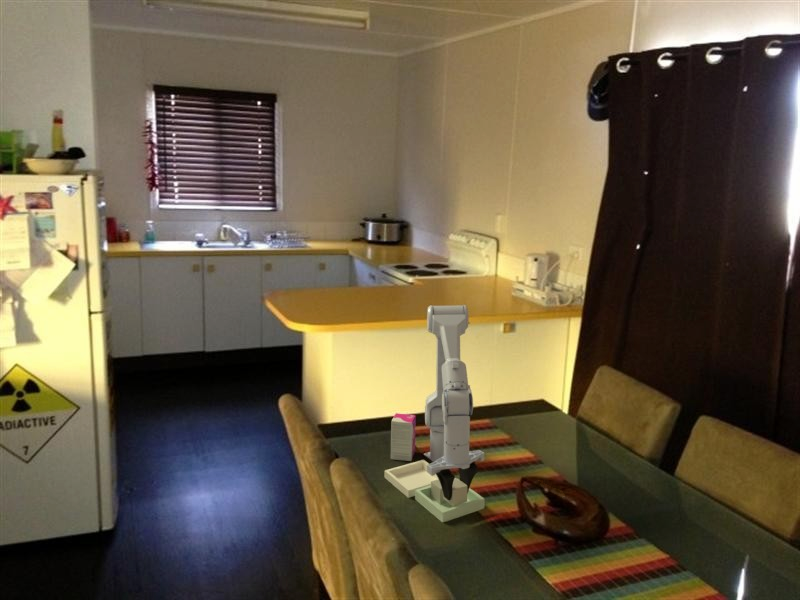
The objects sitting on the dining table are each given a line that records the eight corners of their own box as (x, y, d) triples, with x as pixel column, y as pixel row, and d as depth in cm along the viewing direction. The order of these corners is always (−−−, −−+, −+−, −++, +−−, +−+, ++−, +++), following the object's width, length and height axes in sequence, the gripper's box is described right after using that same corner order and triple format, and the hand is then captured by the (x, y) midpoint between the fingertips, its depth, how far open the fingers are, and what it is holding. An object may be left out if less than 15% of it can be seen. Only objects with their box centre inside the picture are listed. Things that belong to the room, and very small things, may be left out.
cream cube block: (444, 492, 165) (444, 477, 164) (454, 499, 162) (454, 484, 161) (430, 497, 163) (430, 481, 162) (440, 504, 160) (440, 488, 159)
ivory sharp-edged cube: (457, 493, 160) (457, 478, 159) (467, 501, 157) (467, 485, 156) (442, 498, 158) (442, 482, 157) (452, 506, 155) (452, 490, 154)
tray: (423, 468, 178) (423, 459, 178) (448, 487, 169) (448, 478, 168) (384, 479, 173) (384, 470, 172) (408, 500, 163) (408, 490, 162)
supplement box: (411, 463, 181) (411, 422, 179) (390, 461, 182) (389, 421, 180) (415, 453, 187) (415, 414, 184) (394, 451, 188) (394, 412, 185)
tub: (455, 488, 168) (455, 477, 167) (484, 510, 158) (484, 498, 157) (415, 501, 162) (415, 490, 162) (442, 524, 152) (442, 512, 152)
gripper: (439, 455, 147) (439, 512, 150) (493, 440, 154) (491, 494, 157) (422, 442, 153) (421, 497, 156) (474, 428, 160) (473, 481, 163)
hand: (455, 495), depth 157 cm, fingers closed on ivory sharp-edged cube, 4 cm apart
